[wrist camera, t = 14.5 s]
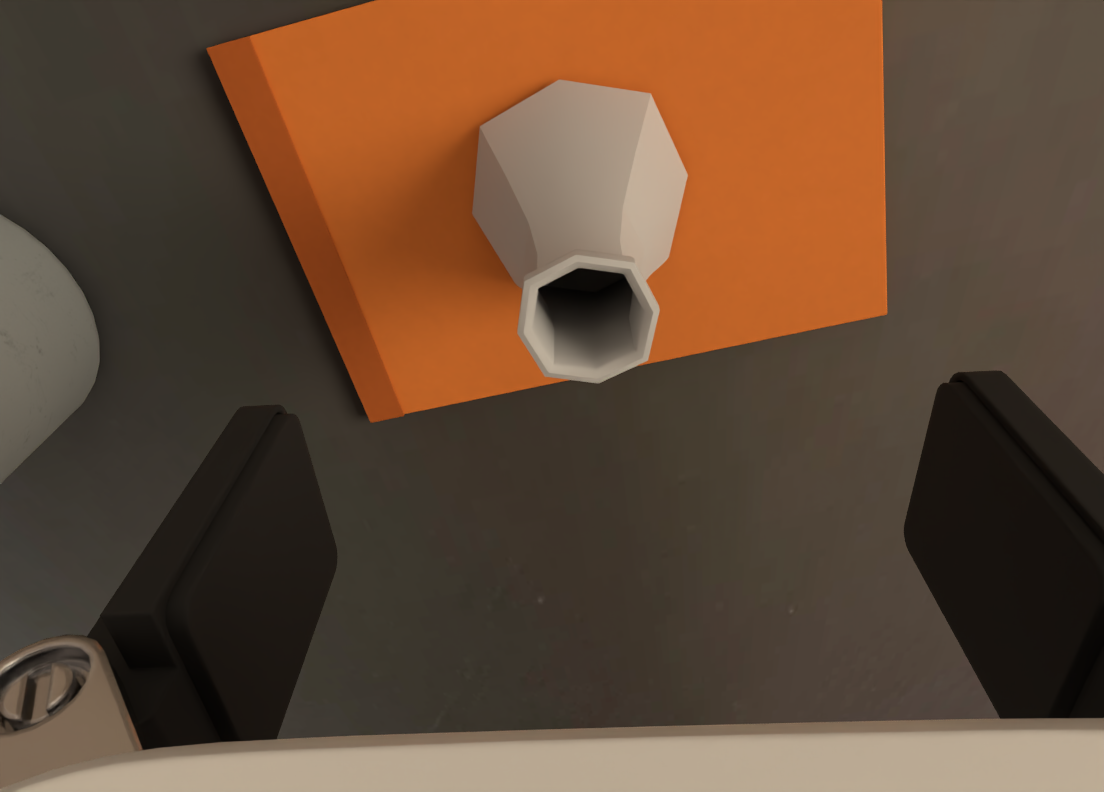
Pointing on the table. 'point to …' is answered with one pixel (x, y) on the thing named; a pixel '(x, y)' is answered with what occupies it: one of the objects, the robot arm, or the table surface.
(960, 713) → the table surface
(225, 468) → the robot arm
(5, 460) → the water bottle
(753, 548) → the table surface
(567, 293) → the flask
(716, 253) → the orange rectangular board
